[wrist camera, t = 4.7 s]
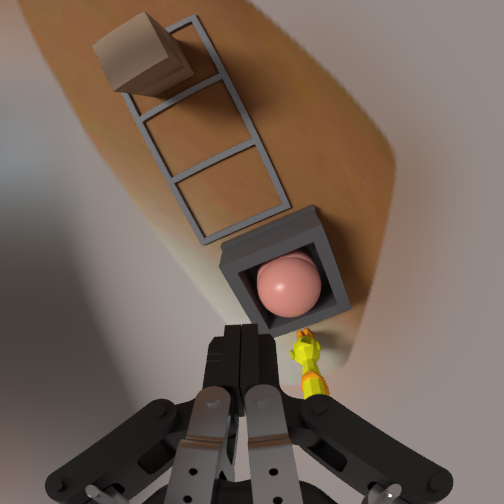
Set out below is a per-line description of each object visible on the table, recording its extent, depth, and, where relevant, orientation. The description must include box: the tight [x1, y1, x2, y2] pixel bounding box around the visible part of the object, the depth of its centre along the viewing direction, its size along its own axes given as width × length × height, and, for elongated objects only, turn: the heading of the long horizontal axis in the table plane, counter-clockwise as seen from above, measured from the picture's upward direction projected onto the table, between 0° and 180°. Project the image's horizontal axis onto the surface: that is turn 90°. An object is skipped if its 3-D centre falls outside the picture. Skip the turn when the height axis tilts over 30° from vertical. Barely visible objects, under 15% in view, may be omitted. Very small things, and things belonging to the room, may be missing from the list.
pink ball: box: [257, 247, 321, 317], centre depth 28 cm, size 6×6×6 cm
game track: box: [121, 14, 291, 246], centre depth 26 cm, size 22×10×1 cm, turn 25°
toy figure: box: [290, 328, 329, 399], centre depth 31 cm, size 7×4×12 cm, turn 25°
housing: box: [219, 205, 352, 338], centre depth 30 cm, size 10×10×5 cm
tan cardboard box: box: [92, 11, 195, 97], centre depth 19 cm, size 4×4×9 cm
